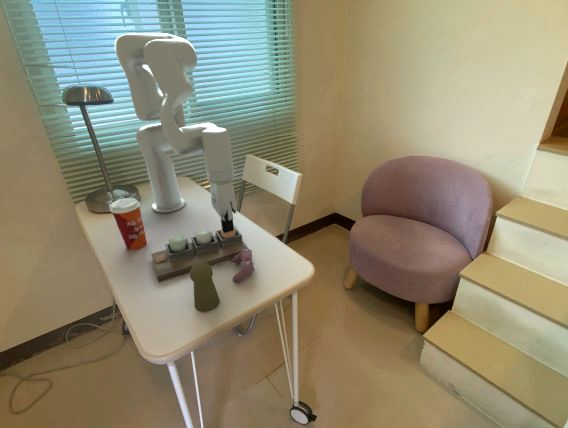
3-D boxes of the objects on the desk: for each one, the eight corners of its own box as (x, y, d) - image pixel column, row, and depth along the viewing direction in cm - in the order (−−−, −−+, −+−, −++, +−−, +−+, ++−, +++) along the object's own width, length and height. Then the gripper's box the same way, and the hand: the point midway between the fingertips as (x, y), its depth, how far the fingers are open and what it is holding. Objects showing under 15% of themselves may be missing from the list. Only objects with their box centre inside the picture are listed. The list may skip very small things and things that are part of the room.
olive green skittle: (218, 311, 74) (212, 274, 69) (192, 313, 74) (184, 276, 69) (220, 293, 80) (215, 258, 74) (196, 295, 79) (189, 259, 74)
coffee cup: (140, 253, 97) (127, 209, 90) (117, 250, 98) (102, 208, 91) (155, 238, 104) (144, 197, 97) (133, 236, 105) (121, 195, 98)
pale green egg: (169, 246, 92) (167, 238, 91) (184, 242, 94) (183, 234, 92) (172, 254, 88) (170, 245, 87) (188, 249, 90) (186, 241, 89)
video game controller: (248, 287, 84) (258, 266, 81) (231, 283, 82) (241, 262, 80) (245, 264, 92) (254, 245, 90) (230, 261, 91) (239, 241, 88)
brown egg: (220, 237, 98) (218, 229, 97) (233, 233, 100) (232, 225, 99) (224, 244, 95) (223, 235, 94) (238, 240, 97) (237, 231, 95)
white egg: (195, 239, 95) (193, 231, 93) (209, 235, 97) (208, 227, 95) (198, 246, 91) (197, 238, 90) (213, 242, 93) (212, 234, 92)
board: (152, 259, 94) (149, 246, 91) (235, 235, 104) (234, 224, 102) (158, 282, 84) (154, 269, 82) (249, 254, 94) (247, 241, 92)
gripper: (200, 168, 92) (209, 223, 101) (214, 185, 80) (223, 245, 89) (225, 164, 95) (232, 217, 104) (242, 179, 83) (248, 238, 92)
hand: (228, 230), depth 96 cm, fingers closed
